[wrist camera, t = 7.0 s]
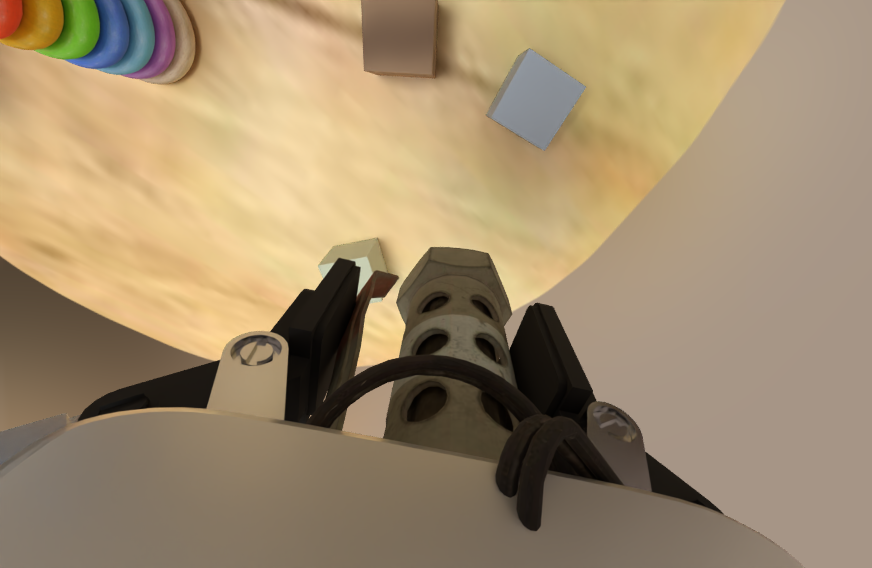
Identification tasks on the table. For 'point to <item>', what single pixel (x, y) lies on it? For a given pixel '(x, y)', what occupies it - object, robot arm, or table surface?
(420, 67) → the walnut cube
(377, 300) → the sage cube
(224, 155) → the table surface
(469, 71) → the table surface
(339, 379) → the grenade model
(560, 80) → the slate blue cube
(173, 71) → the stacking toy
